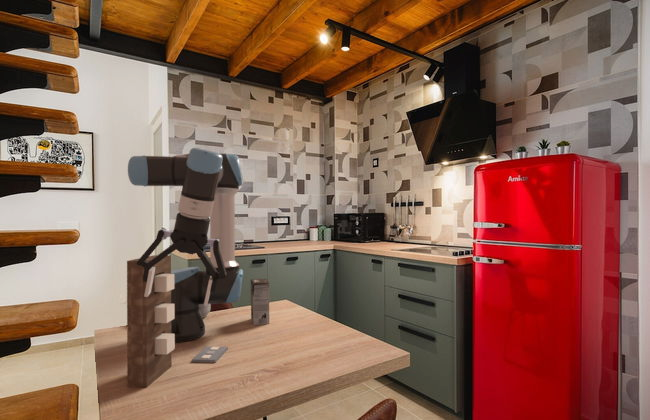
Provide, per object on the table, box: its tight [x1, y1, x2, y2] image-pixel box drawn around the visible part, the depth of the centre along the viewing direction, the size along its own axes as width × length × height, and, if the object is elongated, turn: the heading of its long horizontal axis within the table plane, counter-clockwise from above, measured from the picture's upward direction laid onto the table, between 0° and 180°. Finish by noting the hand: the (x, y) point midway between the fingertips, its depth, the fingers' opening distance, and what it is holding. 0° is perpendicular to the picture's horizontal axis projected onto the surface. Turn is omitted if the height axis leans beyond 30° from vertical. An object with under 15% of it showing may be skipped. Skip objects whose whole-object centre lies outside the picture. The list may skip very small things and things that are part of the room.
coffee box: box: [250, 278, 270, 326], centre depth 140 cm, size 9×6×16 cm
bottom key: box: [155, 333, 176, 354], centre depth 93 cm, size 4×4×4 cm
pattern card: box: [191, 345, 228, 363], centre depth 106 cm, size 7×10×1 cm
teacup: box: [200, 304, 212, 319], centre depth 148 cm, size 14×11×8 cm
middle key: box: [154, 304, 175, 323], centre depth 93 cm, size 4×4×4 cm
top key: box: [154, 274, 174, 292], centre depth 93 cm, size 4×4×4 cm
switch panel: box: [126, 254, 172, 388], centre depth 93 cm, size 5×12×31 cm, turn 176°
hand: (177, 298), depth 86 cm, fingers open, 13 cm apart
